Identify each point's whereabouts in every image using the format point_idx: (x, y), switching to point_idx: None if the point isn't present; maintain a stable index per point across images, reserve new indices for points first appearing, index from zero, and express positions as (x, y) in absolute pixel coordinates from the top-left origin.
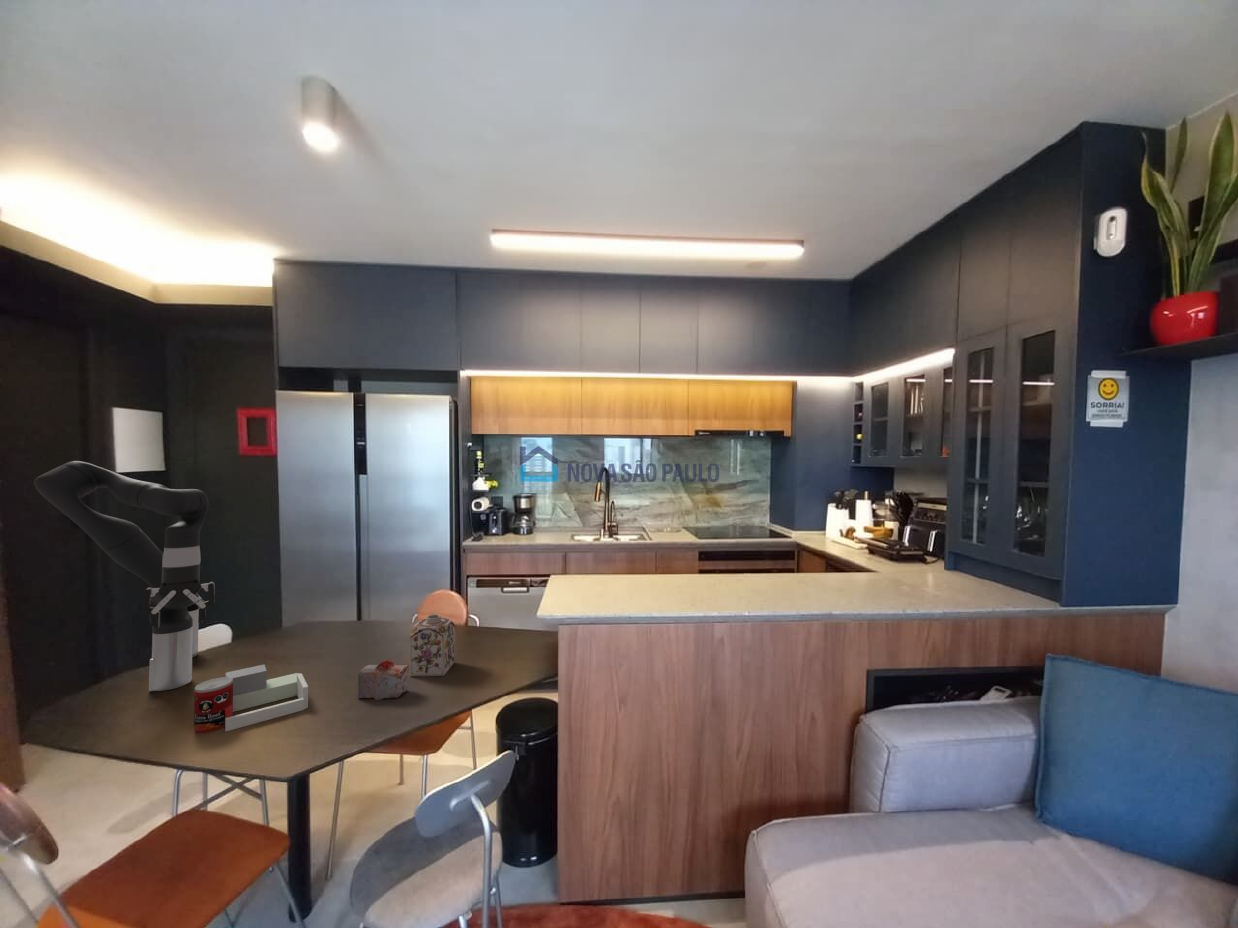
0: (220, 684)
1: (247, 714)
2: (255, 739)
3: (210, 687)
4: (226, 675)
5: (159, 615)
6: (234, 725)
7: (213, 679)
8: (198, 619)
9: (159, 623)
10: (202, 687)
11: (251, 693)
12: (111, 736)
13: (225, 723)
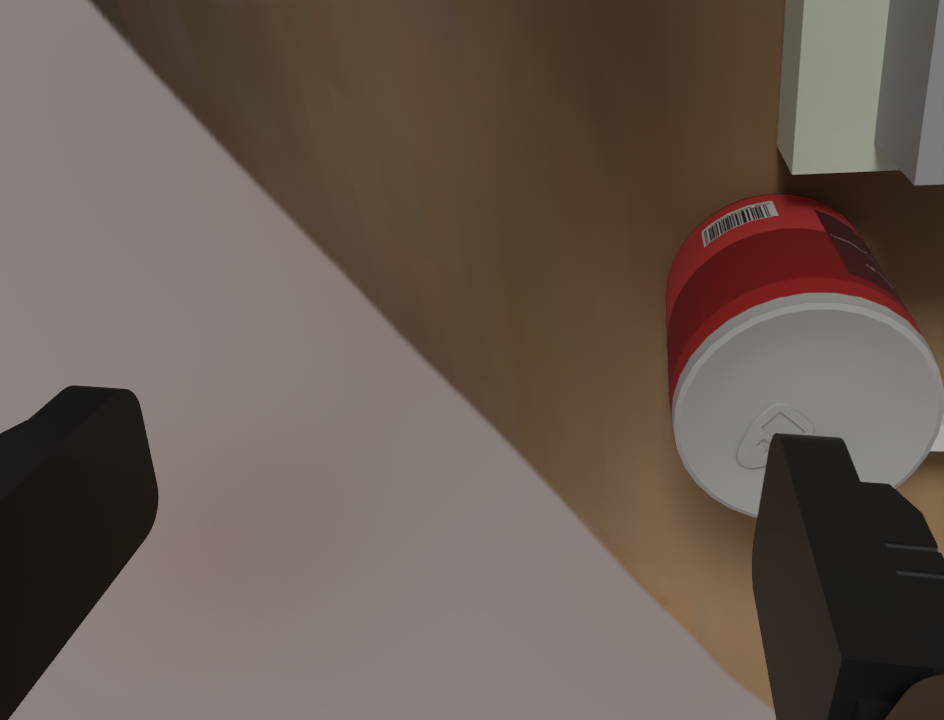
0: (843, 439)
1: (937, 449)
2: None
3: None
4: (936, 55)
5: (7, 583)
6: None
7: (809, 317)
8: (760, 617)
9: (109, 432)
10: (722, 413)
11: None
12: (268, 62)
13: None
